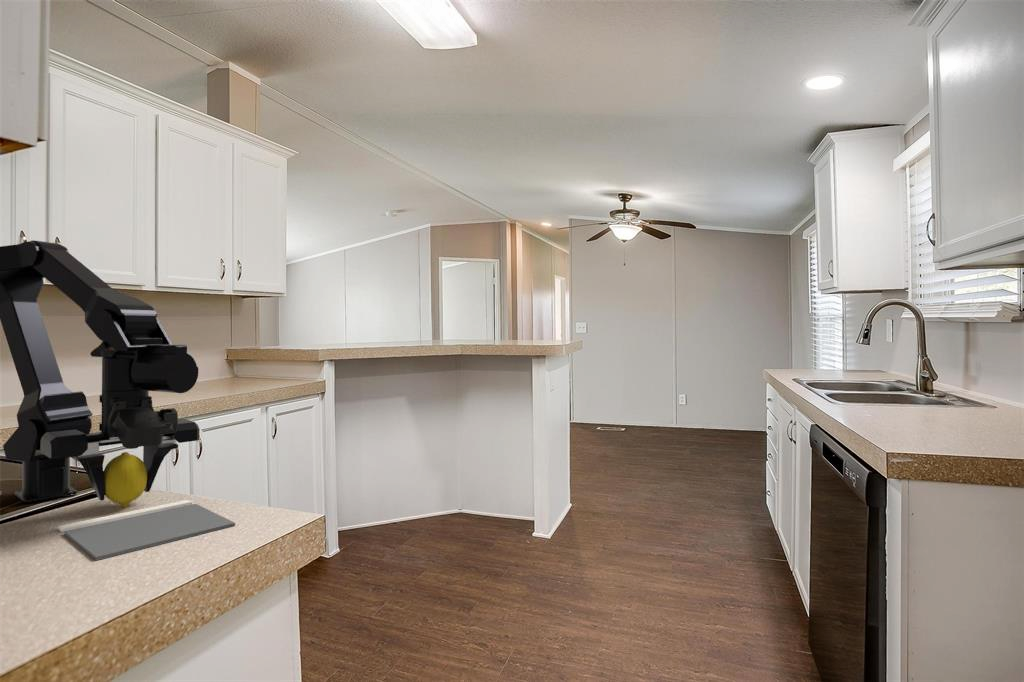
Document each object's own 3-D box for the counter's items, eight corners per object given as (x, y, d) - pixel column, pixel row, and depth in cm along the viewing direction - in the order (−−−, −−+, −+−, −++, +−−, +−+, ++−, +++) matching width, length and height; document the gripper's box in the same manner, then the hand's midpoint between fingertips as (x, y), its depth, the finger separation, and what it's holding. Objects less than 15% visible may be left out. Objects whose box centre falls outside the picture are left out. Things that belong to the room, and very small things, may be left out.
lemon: (124, 514, 83) (125, 457, 83) (91, 510, 85) (92, 454, 84) (155, 502, 89) (156, 449, 89) (124, 499, 90) (124, 447, 90)
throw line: (57, 529, 77) (57, 526, 77) (187, 502, 89) (187, 499, 89) (61, 531, 76) (61, 528, 76) (192, 504, 89) (192, 501, 89)
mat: (64, 534, 75) (64, 531, 75) (195, 506, 88) (195, 503, 88) (96, 560, 68) (96, 557, 68) (235, 525, 80) (235, 522, 80)
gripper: (64, 400, 74) (63, 524, 74) (216, 389, 88) (215, 493, 89) (39, 391, 81) (38, 505, 81) (184, 383, 95) (183, 479, 96)
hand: (124, 495), depth 87 cm, fingers closed on lemon, 5 cm apart
